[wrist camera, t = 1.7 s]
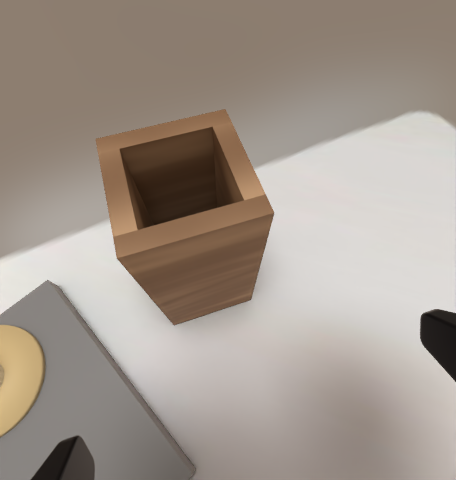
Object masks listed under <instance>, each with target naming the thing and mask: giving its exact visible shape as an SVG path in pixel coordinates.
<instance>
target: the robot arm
mask: <svg viewBox="0 0 456 480" xmlns="http://www.w3.org/2000/svg"><path fill="white" fill-rule="evenodd" d="M420 339H421V342H422V344H423V345H424V347H425V348H426V349H427V350H428V351H429V353H430V354H431V355H432V356H433V357H434V358H435V359H436V360H437V361H438V363H439V364H440V365H441V366H442V367H443V368H444V369H445V370H446V371H447V373H448V374H449V375H450V376H451V377H452V378H453V379H454V380H455V382H456V313H452V312H448V311H444V310H440V309H434V310H431V311H428V312H425V313H423V314H422V315H421V321H420ZM94 478H95V463H94V458H93V456H92V454H91V452H90V451H89V449H88V447H87V445H86V443H85V442H84V440H83V438H82V437H81V436H79V435H76V436H73V437H70V438H67V439H64V440H62V441H60V442H59V443H58V444H57V445H56V447H55V448H54V449H53V451H52V452H51V453H50V455H49V456H48V457H47V459H46V460H45V461H44V462H43V464H42V465H41V466H40V468H39V469H38V470H37V472H36V473H35V474H34V476H33V477H32V478H31V480H94Z"/></svg>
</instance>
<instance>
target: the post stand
mask: <svg viewBox="0 0 456 480" xmlns="http://www.w3.org/2000/svg"><path fill="white" fill-rule="evenodd" d="M76 435H79V436H81V437H82V438H83V440H84V442H85V443H86V445H87V447H88V449H89V451H90V452H91V454H92V456H93V458H94V463H95V478H94V480H189V479H190V478H191V477H192V476H193V474H194V471H195V469H196V468H195V467H194V466H193V465H192V463H191V462H190V461H189V459H188V458H187V457H186V455H185V454H184V453H183V451H182V450H181V449H180V447H179V446H178V445H177V443H176V442H175V441H174V439H173V438H172V437H171V435H170V434H169V433H168V431H167V430H166V429H165V427H164V426H163V425H162V423H161V422H160V421H159V419H158V418H157V417H156V415H155V414H154V413H153V411H152V410H151V409H150V407H149V406H148V405H147V403H146V402H145V401H144V399H143V398H142V397H141V395H140V394H139V393H138V392H137V390H136V389H135V388H134V386H133V385H132V384H131V382H130V381H129V380H128V378H127V377H126V376H125V374H124V373H123V372H122V370H121V369H120V368H119V366H118V365H117V364H116V362H115V361H114V360H113V358H112V357H111V356H110V354H109V353H108V352H107V350H106V349H105V348H104V346H103V345H102V344H101V342H100V341H99V340H98V338H97V337H96V336H95V334H94V333H93V332H92V330H91V329H90V328H89V326H88V325H87V324H86V323H85V321H84V320H83V319H82V317H81V316H80V315H79V313H78V312H77V311H76V309H75V308H74V307H73V305H72V304H71V303H70V301H69V300H68V299H67V297H66V296H65V295H64V293H63V292H62V291H61V289H60V288H59V287H58V286H57V285H55V284H54V283H52V282H50V281H49V280H47V281H45V282H44V283H43V284H41V285H40V286H39V287H37V288H36V289H35V290H33V291H32V292H31V293H29V294H28V295H27V296H25V297H24V298H22V299H21V300H20V301H18V302H17V303H16V304H14V305H13V306H12V307H10V308H9V309H8V310H6V311H5V312H4V313H2V314H1V315H0V480H31V478H32V477H33V476H34V474H35V473H36V472H37V470H38V469H39V468H40V466H41V465H42V464H43V462H44V461H45V460H46V459H47V457H48V456H49V455H50V453H51V452H52V451H53V449H54V448H55V447H56V445H57V444H58V443H59V442H60V441H62V440H64V439H67V438H70V437H73V436H76Z"/></svg>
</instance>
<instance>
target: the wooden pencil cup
mask: <svg viewBox="0 0 456 480" xmlns="http://www.w3.org/2000/svg"><path fill="white" fill-rule="evenodd" d="M96 144H97V150H98V154H99V160H100V166H101V172H102V177H103V183H104V188H105V194H106V200H107V205H108V210H109V217H110V222H111V228H112V233H113V239H114V244H115V250H116V256H117V259H118V260H119V261H120V263H121V264H122V265H123V266H124V267H125V268H126V270H127V271H128V272H129V273H130V274H131V275H132V277H133V278H134V279H135V280H136V281H137V282H138V284H139V285H140V286H141V287H142V288H143V289H144V291H145V292H146V293H147V294H148V295H149V297H150V298H151V299H152V300H153V301H154V302H155V304H156V305H157V306H158V307H159V308H160V309H161V311H162V312H163V313H164V314H165V315H166V316H167V318H168V319H169V320H170V321H171V322H172V323H173V325H176V324H179V323H182V322H185V321H188V320H191V319H195V318H198V317H201V316H204V315H207V314H210V313H213V312H216V311H219V310H222V309H225V308H228V307H231V306H234V305H237V304H240V303H243V302H246V301H249V300H251V298H252V294H253V290H254V286H255V283H256V279H257V275H258V272H259V268H260V264H261V260H262V257H263V253H264V249H265V246H266V242H267V238H268V234H269V231H270V227H271V223H272V219H273V216H274V211H273V209H272V207H271V205H270V203H269V201H268V198H267V196H266V194H265V192H264V190H263V188H262V186H261V184H260V182H259V179H258V177H257V175H256V173H255V171H254V169H253V167H252V165H251V163H250V160H249V159H248V157H247V154H246V152H245V150H244V148H243V146H242V144H241V141H240V139H239V137H238V135H237V133H236V131H235V129H234V126H233V124H232V122H231V120H230V118H229V116H228V114H227V112H226V110H225V109H224V110H220V111H215V112H211V113H206V114H202V115H198V116H193V117H189V118H185V119H180V120H176V121H171V122H167V123H163V124H158V125H154V126H150V127H145V128H141V129H137V130H132V131H128V132H124V133H119V134H115V135H110V136H106V137H102V138H97V139H96Z"/></svg>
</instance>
